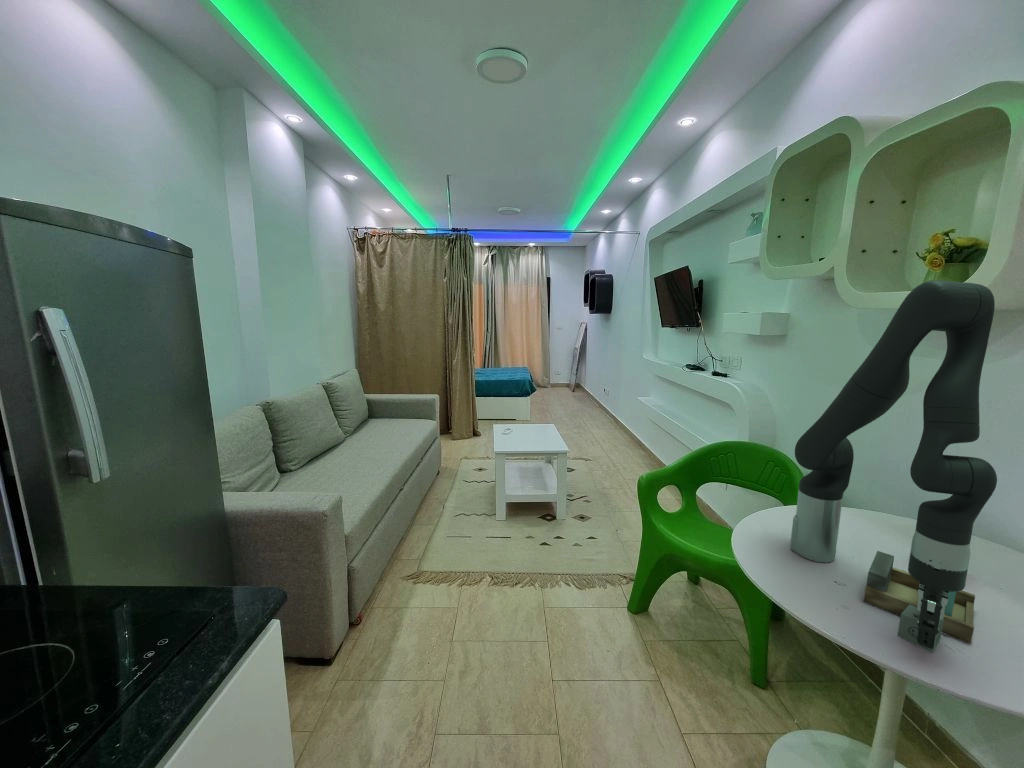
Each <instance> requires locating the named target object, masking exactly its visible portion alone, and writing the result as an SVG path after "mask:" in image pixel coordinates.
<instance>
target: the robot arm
mask: <svg viewBox="0 0 1024 768" xmlns="http://www.w3.org/2000/svg"><path fill="white" fill-rule="evenodd" d="M995 301H996V300H995V296H994V294H993V292H992V290H991V289H990V288H988V287H987V286H985V285H983V284H981V283H980V284H979V283H974V282H963V281H950V280H938V279H937V280H928V281H924V282H922V283H920V284H919V285H917V286H915V287H914V288H913V289H912V290H911V291H910V292H909V293H908V294H907V296H905V298H904V299H903V301H902V302H901V303H900V306H899V307H898V308H897V310H896V312H895V313H894V315H893V316H892V318H891V320H890V322H889V324H888V325H887V326H886V329H885V330H884V332H883V333H882V335H881V337H880V338H879V340H878V341H877V343H876V344H875V345H874V347H873V348H872V350H871V351H870V353H868V355H867V357H865V359H864V360H863V362H862V363H861V364H860V366H859V367H858V368H857V369H856V371H854V373H853V374H852V375H851V377H849V379H848V381H847V382H846V383H845V385H844V386H843V387H842V388H841V390H840V392H839V393H838V395H837V396H836V397H835V398H834V399H833V400H832V402H831V403H830V405H828V407H827V408H826V410H825V411H824V412H823V413H822V415H821V416H820V417H819V418H818V419H817V420H816V421H815V422H814V423H813V424H812V425H811V426H810V427H809V428H808V429H807V430H806V431H805V432H804V433H803V434H802V435H801V436H800V438H799V439H798V440H797V442H796V443H795V447H794V457H795V460H796V462H797V463H798V464H799V465H800V466H801V467H802V468H804V469H806V470H810V472H809V473H807V474H806V475H804V476H803V477H801V478H800V480H799V483H798V492H797V493H798V494H797V503H796V511H795V515H794V516H793V518H792V525H791V527H792V528H791V536H790V545H789V549H790V551H793V552H795V553H796V554H797V555H800V556H801V557H802V558H805V559H808V560H809V561H810V560H811V561H813V562H818V563H831V562H833V561H835V558H836V554H837V544H838V537H839V536H838V535H839V530H840V523H841V522H840V521H841V514H842V507H843V498H844V493H845V491H846V490H847V489H848V487H849V485H850V481H851V474H852V469H853V465H854V464H853V463H854V457H855V455H854V448H853V445H852V443H851V441H850V439H848V438H847V437H849V436H850V435H852V434H853V433H855V432H856V431H858V430H860V429H862V428H864V427H865V426H867V425H869V424H871V423H872V422H874V421H876V420H877V419H879V418H880V417H882V416H883V415H885V414H886V413H887V412H888V411H889V410H890V409H891V408H892V407H893V406H894V405H895V404H896V403H897V401H899V399H900V398H901V397H902V396H903V395H904V393H905V392H906V391H907V389H908V388H909V387H908V386H909V384H910V383H909V382H910V360H911V356H912V354H913V353H914V351H915V350H916V348H917V347H918V346H919V345H920V343H921V342H922V341H923V340H924V338H925V337H926V336H927V335H928V334H929V333H931V332H932V331H933V332H935V331H936V332H944V333H945V337H946V352H945V355H944V358H943V361H942V363H941V364H940V366H939V368H938V369H937V371H936V372H935V374H934V375H933V377H932V378H931V380H930V381H929V383H928V385H927V386H926V389H925V392H924V395H923V402H922V406H923V407H922V409H923V410H922V412H923V416H922V417H923V428H922V429H923V430H922V434H921V437H920V441H919V444H918V447H917V450H916V453H915V454H914V457H913V459H912V462H911V465H910V470H909V472H910V477H911V479H912V481H913V483H914V485H916V486H917V487H918V488H919V489H921V490H922V491H925V492H929V493H939V494H947V495H949V496H950V497H949V496H948V497H949V498H948V497H947V498H944V499H943V498H942V499H935V500H933V499H932V500H926V501H923V502H921V503H920V505H919V506H918V511H917V518H916V525H915V529H914V533H913V536H912V540H911V545H910V553H909V560H908V566H907V572H909V573H910V575H911V576H912V577H913V578H915V579H916V580H918V581H920V583H919V588H918V597H919V600H918V606H917V611H918V612H919V613H920V618H919V621H918V623H917V625H918V628H919V630H918V637H917V642H918V643H919V644H920V645H923V646H925V647H928V648H930V649H933V648H934V642H935V636H936V635H937V633H938V632H939V631H938V630H939V628H938V625H939V621H941V620H943V616H944V609H945V606H947V603H948V593H949V591H951V592H958V591H961V590H962V591H964V589H965V587H966V581H967V576H968V571H969V565H970V559H971V540H972V535H973V528H974V524H975V521H976V520H977V518H978V517H979V515H980V513H981V511H982V509H984V507H985V505H986V504H987V502H988V501H989V500H990V498H991V497H992V496H993V494H994V492H995V490H996V488H997V483H998V476H997V473H996V469H994V467H993V466H992V464H991V463H989V461H987V460H985V459H982V458H979V457H973V456H964V455H963V456H962V455H951V454H948V455H947V454H944V452H945V450H946V449H947V448H948V447H949V446H950V445H955V444H965V443H973V442H975V441H978V439H979V438H980V433H981V429H980V428H981V427H980V385H981V378H982V370H983V368H984V367H983V366H984V362H985V357H986V353H987V350H988V346H989V338H990V333H991V331H992V325H993V319H994V316H995V315H994V314H995ZM924 618H925V619H928V620H931V621H933V622H934V624H931V623H929V622H926V621H923V619H924Z"/></svg>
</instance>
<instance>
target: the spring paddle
mask: <svg viewBox="0 0 1024 768" xmlns="http://www.w3.org/2000/svg"><path fill="white" fill-rule="evenodd" d="M955 595H956V592H951V591H949V593H948V603H947V606H945V609H944V614H945V615H948V616H952V611H953V606H954V600H955Z"/></svg>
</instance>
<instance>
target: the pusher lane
mask: <svg viewBox="0 0 1024 768" xmlns="http://www.w3.org/2000/svg"><path fill="white" fill-rule="evenodd" d="M894 561H895V555H893V554H888V553H886V552H883V551H880V550H877V551H876V554H875V556H874V558H873V560H872V562H871V564H870V567H869V570H868V572H867V579H866V586H865V590H864V596H863V602H865V603H867V604H869V605H872V606H873V607H877V608H880V609H883V610H884V611H886V612H890V613H892V614H894V615H897V616H899V617H901V613H902V612H903V611H904V610H905V609H906V608H907V607H908V606H909V604H910V605H913V606H915V607H917V606H918V600H919V597H918V588H919V583H920V581H918V580H916V579H915V578H913V577H912V576H911V575H910V573H909V572H908V571H905V570H904V569H899V568H897V567H893V566H894ZM975 599H976V594H974V593H971V592H967V591H965V590H961V591H958V592H956V595H955V600H954V606H953V611H952V616H948V615H945V614H944V616H943V619H944V624H943V629H942V634H945V635H947V636H950V637H952V638H954V639H957V640H959V641H962V642H964V643H967V644H972V640H973V639H972V638H973V634H974V629H975V624H974V613H975V612H974V611H975V610H974V606H975Z"/></svg>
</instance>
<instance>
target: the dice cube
mask: <svg viewBox="0 0 1024 768" xmlns="http://www.w3.org/2000/svg"><path fill="white" fill-rule="evenodd" d="M899 618H900V619H899V624H898V629H897V637H899V638H901V639H903V640H905V641H907V642H909V643H911V644H913V645H914V646H917V647H919V648H921V649H923V650H925V651H927V652H928V653H931V654H932V653H934V651H935V650H936V648H937V647H938V645H939V644H940V643H941V639H942V634H943V633H942V629H943V624H944V619H943V620H941V621H939V625H938V628H939V630H938V631H939V632H938V633H937V635H936V636H935V642H934V648H933V649H930V648H928V647H925V646H923V645H920V644H919V643H918V642H917V637H918V630H919V628H918V625H917V623H918V621H919V618H920V613H919V612H918V611H917V607H915V606H913V605H910V604H909V606H908V607H907V608H906V609H905V610H904V611H903V612H902V613H901V616H899ZM923 621H926V622H929V623H931V624H934V622H933V621H931V620H928V619H925V618H924V619H923Z"/></svg>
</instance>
